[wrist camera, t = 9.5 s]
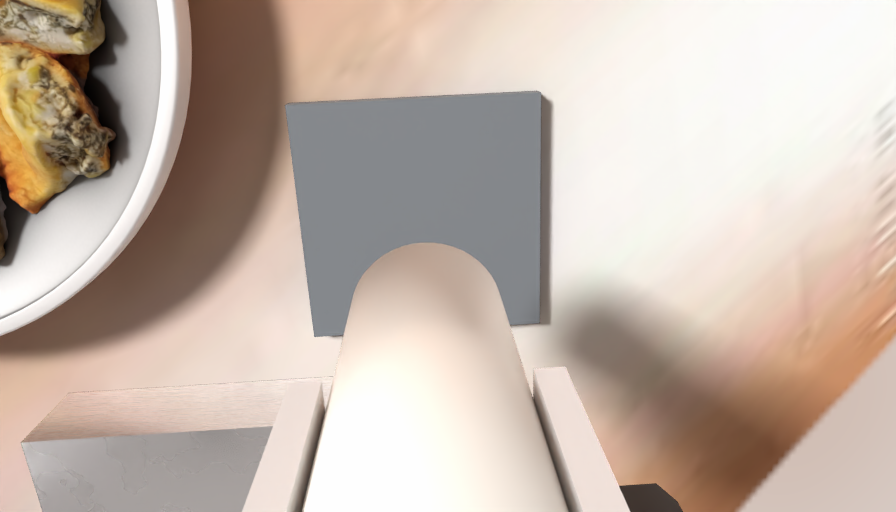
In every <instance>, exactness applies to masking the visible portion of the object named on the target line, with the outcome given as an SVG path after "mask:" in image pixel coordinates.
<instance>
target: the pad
mask: <svg viewBox="0 0 896 512" xmlns="http://www.w3.org/2000/svg"><path fill="white" fill-rule="evenodd" d="M285 108H286V116H287V124H288V132H289V140H290V148H291V156H292V164H293V172H294V179H295V187H296V195H297V203H298V211H299V219H300V227H301V235H302V243H303V251H304V259H305V267H306V275H307V283H308V291H309V299H310V306H311V314H312V322H313V330H314V337H320V336H337V335H344V331H345V327H346V323H347V319H348V315H349V310H350V306H351V302H352V298H353V294H354V291H355V289H356V286H357V284H358V282H359V280H360V279H361V277H362V275H363V274H364V273H365V271H366V270H367V269H368V268H369V267H370V266H371V265H372V264H373V263H374V262H375V261H376V260H377V259H379V258H380V257H382V256H383V255H384V254H386V253H388V252H390V251H392V250H394V249H397V248H399V247H402V246H405V245H410V244H415V243H439V244H445V245H449V246H453V247H455V248H458V249H460V250H462V251H464V252H466V253H468V254H470V255H471V256H473V257H474V258H475V259H477V260H478V261H479V262H480V263H481V264H482V265H483V266H484V267H485V268H486V269H487V270H488V272H489V273H490V274H491V276H492V278H493V279H494V281H495V283H496V285H497V288H498V290H499V293H500V296H501V299H502V302H503V306H504V309H505V312H506V315H507V318H508V321H509V324H510V325H518V324H535V323H540V182H541V92H539V91H524V92H503V93H483V94H462V95H442V96H421V97H400V98H380V99H359V100H339V101H318V102H298V103H288V104H286V105H285Z"/></svg>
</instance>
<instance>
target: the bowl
mask: <svg viewBox="0 0 896 512" xmlns="http://www.w3.org/2000/svg"><path fill="white" fill-rule="evenodd" d="M191 71H192V41H191V24H190V14H189V4H188V0H0V336H2V335H4V334H7V333H9V332H12V331H14V330H17V329H19V328H21V327H23V326H25V325H27V324H29V323H31V322H33V321H35V320H37V319H39V318H40V317H42V316H44V315H46V314H48V313H49V312H51V311H52V310H54V309H55V308H57V307H58V306H60V305H61V304H63V303H64V302H66V301H67V300H69V299H70V298H71V297H73V296H74V295H75V294H77V293H78V292H79V291H80V290H82V289H83V288H84V287H86V286H87V285H88V284H89V283H91V282H92V281H93V280H94V279H95V278H96V277H97V276H98V275H99V274H101V273H102V272H103V271H104V270H105V269H106V268H107V267H108V266H109V265H110V264H111V263H112V262H113V261H114V260H115V259H116V258H117V257H118V256H119V255H120V254H121V252H122V251H123V250H124V249H125V248H126V246H127V245H128V244H129V243H130V241H131V240H132V239H133V238H134V236H135V235H136V234H137V232H138V231H139V229H140V228H141V226H142V225H143V223H144V222H145V221H146V219H147V218H148V216H149V214H150V213H151V211H152V209H153V207H154V206H155V204H156V202H157V200H158V198H159V196H160V194H161V192H162V190H163V188H164V186H165V184H166V182H167V179H168V177H169V174H170V172H171V169H172V166H173V164H174V161H175V158H176V155H177V152H178V149H179V145H180V142H181V138H182V134H183V130H184V126H185V121H186V116H187V109H188V103H189V96H190V85H191Z"/></svg>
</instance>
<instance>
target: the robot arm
mask: <svg viewBox="0 0 896 512" xmlns="http://www.w3.org/2000/svg"><path fill="white" fill-rule="evenodd" d="M533 400H534V403H535V406H536V409H537V413H538V416H539V419H540V422H541V425H542V428H543V431H544V435H545V438H546V441H547V444H548V447H549V450H550V453H551V457H552V460H553V463H554V466H555V469H556V472H557V475H558V479H559V482H560V485H561V488H562V491H563V494H564V498H565V501H566V504H567V507H568V510H569V512H683V511H682V509H681V507H680V506H679V504H678V502H677V501H676V500H675V499H674V498H673V497H671V496H670V495H669V494H668V493H667V492H666V491H664V490H663V489H662V488H661V487H660V486H659V485H657V484H641V485H626V486H619V485H618V483H617V481H616V479H615V476H614V474H613V472H612V470H611V467H610V465H609V463H608V461H607V458H606V456H605V454H604V452H603V449H602V447H601V445H600V443H599V440H598V438H597V436H596V434H595V431H594V429H593V427H592V425H591V422H590V420H589V418H588V416H587V413H586V411H585V409H584V407H583V405H582V402H581V400H580V398H579V396H578V393H577V391H576V389H575V387H574V384H573V382H572V380H571V378H570V375H569V373H568V371H567V369H566V366H565V367H549V368H533ZM324 415H325V406H324V398H323V390H322V382H306V383H290V384H288V387H287V390H286V392H285V395H284V398H283V401H282V403H281V406H280V409H279V412H278V414H277V417H276V420H275V423H274V425H273V428H272V431H271V433H270V436H269V439H268V442H267V444H266V447H265V450H264V453H263V455H262V458H261V461H260V464H259V466H258V469H257V472H256V475H255V477H254V480H253V483H252V486H251V488H250V491H249V494H248V497H247V499H246V502H245V505H244V508H243V510H242V512H301V511H302V507H303V503H304V499H305V494H306V490H307V486H308V482H309V478H310V473H311V469H312V465H313V461H314V457H315V453H316V448H317V444H318V440H319V436H320V432H321V427H322V423H323V419H324Z"/></svg>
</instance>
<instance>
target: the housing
mask: <svg viewBox="0 0 896 512" xmlns="http://www.w3.org/2000/svg"><path fill="white" fill-rule="evenodd" d="M333 377H334V376H331V377H315V378H299V379H283V380H267V381H252V382H236V383H220V384H204V385H188V386H172V387H156V388H140V389H124V390H108V391H92V392H76V393H68V394H67V395H66V396H65V397H64V398H63V399H62V400H61V401H60V402H59V403H58V405H57V406H56V407H55V408H54V409H53V410H52V411H51V412H50V413H49V414H48V415H47V416H46V417H45V418H44V419H43V420H42V421H41V422H40V423H39V424H38V425H37V426H36V427H35V428H34V429H33V430H32V431H31V432H30V433H29V435H28V436H27V437H26V438H25V439H24V440H23V441H22V442H21V445H22V448H23V451H24V455H25V458H26V461H27V464H28V467H29V470H30V473H31V477H32V480H33V483H34V486H35V489H36V492H37V495H38V499H39V502H40V505H41V508H42V511H43V512H242V510H243V508H244V505H245V502H246V499H247V497H248V494H249V491H250V488H251V486H252V483H253V480H254V477H255V475H256V472H257V469H258V466H259V464H260V461H261V458H262V455H263V453H264V450H265V447H266V444H267V442H268V439H269V436H270V433H271V431H272V428H273V425H274V423H275V420H276V417H277V414H278V412H279V409H280V406H281V403H282V401H283V398H284V395H285V392H286V390H287V387H288V384H290V383H306V382H322V390H323V398H324V406H325V411H326V407H327V402H328V398H329V394H330V390H331V386H332V381H333Z"/></svg>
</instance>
